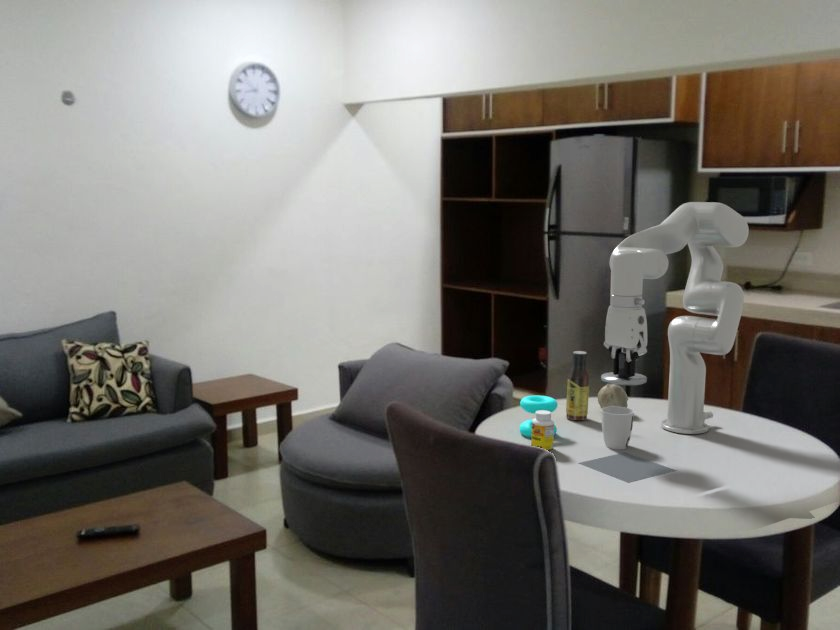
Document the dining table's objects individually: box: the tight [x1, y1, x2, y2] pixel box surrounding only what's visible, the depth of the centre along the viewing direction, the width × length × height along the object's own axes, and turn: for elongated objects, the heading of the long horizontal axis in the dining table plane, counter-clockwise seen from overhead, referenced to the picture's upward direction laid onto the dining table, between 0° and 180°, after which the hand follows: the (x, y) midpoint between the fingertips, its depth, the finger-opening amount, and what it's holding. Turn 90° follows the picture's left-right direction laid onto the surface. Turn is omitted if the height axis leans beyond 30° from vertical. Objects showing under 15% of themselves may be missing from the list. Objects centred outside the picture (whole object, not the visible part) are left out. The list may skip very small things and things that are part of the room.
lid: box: [600, 351, 648, 386], centre depth 203 cm, size 11×11×7 cm
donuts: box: [519, 394, 558, 438], centre depth 222 cm, size 10×10×10 cm
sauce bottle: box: [565, 350, 590, 422], centre depth 237 cm, size 6×6×20 cm
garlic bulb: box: [597, 383, 629, 409], centre depth 245 cm, size 9×8×10 cm
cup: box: [600, 407, 635, 450], centre depth 211 cm, size 8×8×10 cm
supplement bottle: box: [530, 410, 555, 453], centre depth 208 cm, size 6×6×10 cm
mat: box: [578, 452, 677, 484], centre depth 195 cm, size 16×16×1 cm
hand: (624, 374), depth 203 cm, fingers closed on lid, 2 cm apart
